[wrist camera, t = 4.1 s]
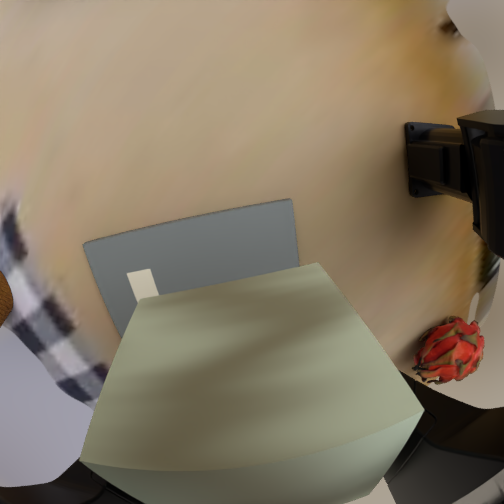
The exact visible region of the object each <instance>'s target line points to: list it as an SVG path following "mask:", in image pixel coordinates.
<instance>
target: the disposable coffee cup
mask: <svg viewBox="0 0 504 504" xmlns="http://www.w3.org/2000/svg"><path fill="white" fill-rule="evenodd" d="M12 308H13V298H12V293H11V290H10V287H9V285H8V283H7V281H6V279H5V277H4V276H3V274H2V273H1V271H0V327H1V326H2V324H3V323H4V321H5V319H6V318H7V316H8V315H9V313H10V312H11V310H12Z"/></svg>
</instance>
